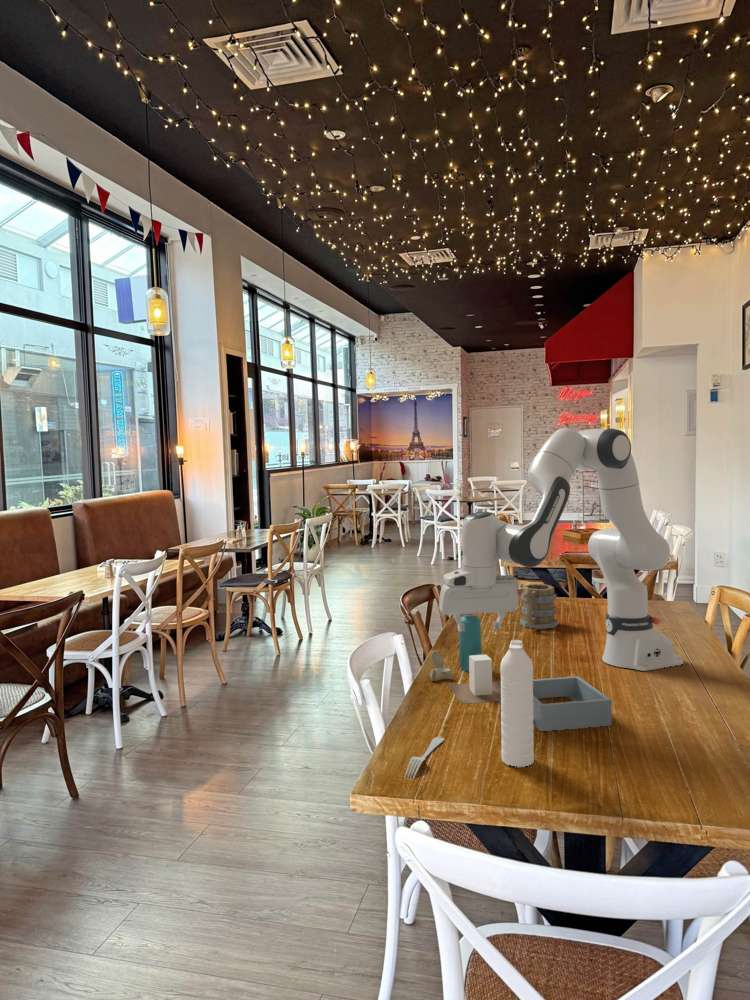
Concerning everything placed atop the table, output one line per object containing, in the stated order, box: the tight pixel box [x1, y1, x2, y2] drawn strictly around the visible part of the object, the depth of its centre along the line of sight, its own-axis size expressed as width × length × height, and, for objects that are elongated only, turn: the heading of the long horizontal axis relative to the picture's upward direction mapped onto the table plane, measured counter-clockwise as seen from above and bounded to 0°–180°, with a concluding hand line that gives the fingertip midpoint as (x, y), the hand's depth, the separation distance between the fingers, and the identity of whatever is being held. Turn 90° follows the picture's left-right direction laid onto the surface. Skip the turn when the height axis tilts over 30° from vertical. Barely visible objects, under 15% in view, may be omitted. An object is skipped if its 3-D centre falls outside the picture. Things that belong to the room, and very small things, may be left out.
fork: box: [404, 736, 446, 780], centre depth 142 cm, size 3×21×3 cm, turn 157°
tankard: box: [519, 583, 559, 630], centre depth 242 cm, size 20×13×15 cm, turn 144°
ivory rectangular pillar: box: [468, 654, 493, 696], centre depth 174 cm, size 5×5×9 cm
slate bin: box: [533, 675, 612, 732], centre depth 162 cm, size 17×17×6 cm
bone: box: [429, 650, 455, 682], centre depth 187 cm, size 9×6×10 cm
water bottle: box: [499, 639, 535, 768], centre depth 137 cm, size 9×6×25 cm
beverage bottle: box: [458, 614, 483, 673], centre depth 193 cm, size 6×7×20 cm
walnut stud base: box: [447, 680, 501, 705], centre depth 175 cm, size 14×14×5 cm
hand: (479, 629), depth 174 cm, fingers open, 8 cm apart
